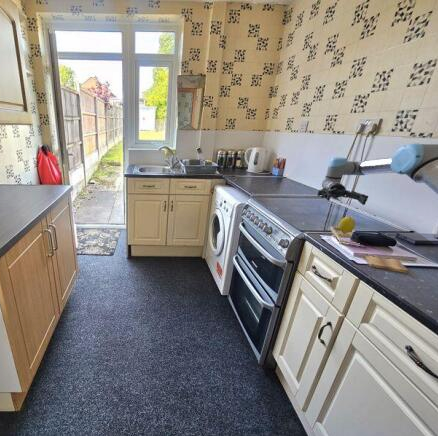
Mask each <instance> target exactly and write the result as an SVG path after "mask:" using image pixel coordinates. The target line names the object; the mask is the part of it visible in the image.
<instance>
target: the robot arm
mask: <svg viewBox="0 0 438 436" xmlns="http://www.w3.org/2000/svg"><path fill="white" fill-rule="evenodd" d="M393 173H396V174H398V175H406V176H407V177H409V178H410V179H411V180H412V181H413V182H414V183H416V184H425V186H427V187H428V188H430V189H431V190H432V191H433V192H434V193H435V194H436V195H438V144H437V143H435V144H434V143H409V144H406V145H405V144H404V145H403V146H401V147H399V148H398V149H397V150H396V151H395V152H394V153H393V155H392V156H391V157H382V158H376V159H367V160H359V161H351V160H349V161H348V158H347V157H339V156H334V157H332V158H331V159H330V161H329V163H328V166H327V170H326V174H325V176H324V179H323V180H322V182H321V187H322V189H319V190H318V191H317V196H318V197H321V199H326V201H328V202H330V200H331V198H334V199H338V198H344V199H346V198H349V199H353V200H356V201H357V202H359V203H360V204H361V205H362V206H365V205H366V203H367V201H368V200H369V195H367V194H364V193H359V192H356V191H355V190H351V191H350V190H347V189H346V187H345V185H343V183H341V182H342V179H343V176H367V175H378V174H393Z"/></svg>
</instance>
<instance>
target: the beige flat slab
mask: <svg viewBox="0 0 438 436" xmlns="http://www.w3.org/2000/svg"><path fill="white" fill-rule="evenodd" d="M329 231H331V233H332V234H333V236H334V237H335V236H336V237H337V239H338V240H339V241H340V242H345V243H352V244H358V245H360V243H356V242H350V241H344V240H341V238H340V237H342V238H350V237H351V236H352V233H353V232H356V231H355V230H354V229H353V230H352V231H351V232H348V233H343V232H342V231H340V229H339V226H332V225H330V228H329ZM336 237H335V238H336ZM337 239H336V240H337Z"/></svg>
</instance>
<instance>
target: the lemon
mask: <svg viewBox="0 0 438 436" xmlns="http://www.w3.org/2000/svg"><path fill="white" fill-rule="evenodd" d="M338 227H339V229H340V231H342V232H343V233H348V232H351V231H352V230H354V229H355V227H356V221H355V220H354V219H353V218H352V217H351V216H345V217H343V218H341V219H340V221H339V222H338Z"/></svg>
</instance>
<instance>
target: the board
mask: <svg viewBox="0 0 438 436" xmlns="http://www.w3.org/2000/svg"><path fill="white" fill-rule="evenodd" d="M365 259H366V260H365ZM364 260H365V261H366V262H367V264H368V265H369V267H372V268H378V269H383V270H388V271H394V272H398V273H399V272H400V273H403V274H409V272H410V270H409V269H408V268H407V267H406V266H405V265H404V264H402V262H401V261H400V260H399V259H396V258H391V259H385V258H378V257H372V256H365V258H364Z"/></svg>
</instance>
